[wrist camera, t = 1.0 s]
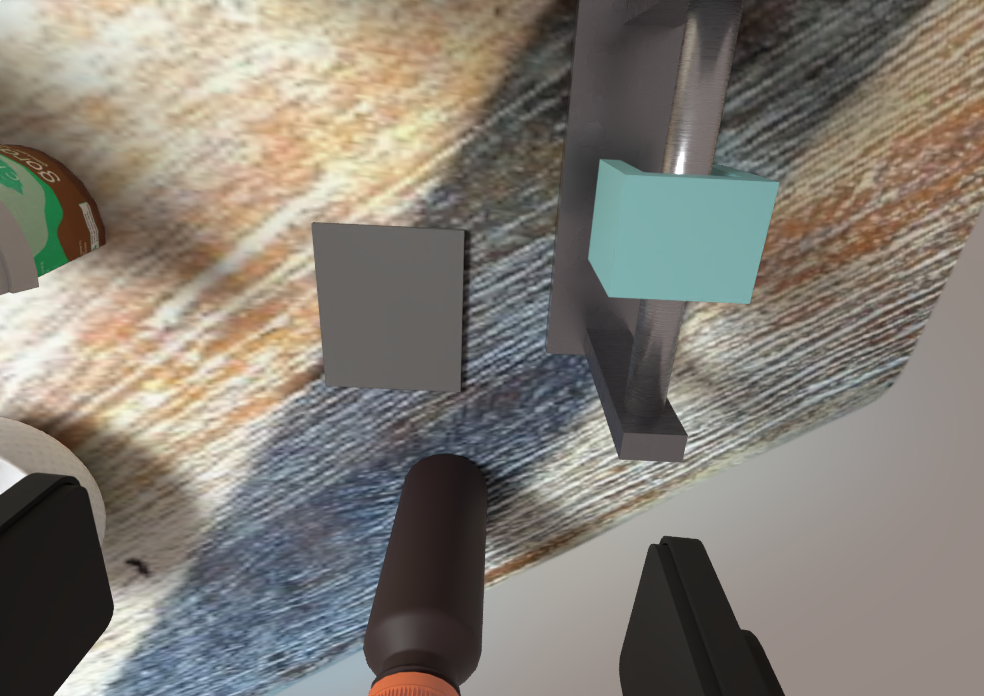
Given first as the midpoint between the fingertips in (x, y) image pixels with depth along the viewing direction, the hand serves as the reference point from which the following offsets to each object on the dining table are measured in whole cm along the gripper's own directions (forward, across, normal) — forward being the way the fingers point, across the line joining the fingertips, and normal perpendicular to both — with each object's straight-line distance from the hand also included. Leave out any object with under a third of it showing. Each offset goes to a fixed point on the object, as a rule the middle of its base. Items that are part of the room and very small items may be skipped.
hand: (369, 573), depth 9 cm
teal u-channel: (+22, -9, -3) cm, 24 cm away
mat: (+30, +6, +6) cm, 31 cm away
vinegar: (+30, +1, +21) cm, 37 cm away
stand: (+30, -9, -4) cm, 31 cm away
